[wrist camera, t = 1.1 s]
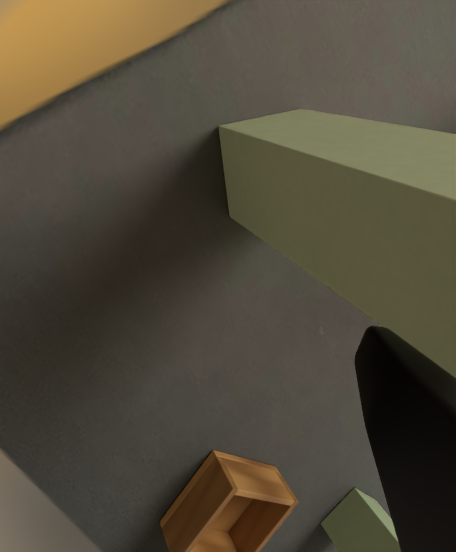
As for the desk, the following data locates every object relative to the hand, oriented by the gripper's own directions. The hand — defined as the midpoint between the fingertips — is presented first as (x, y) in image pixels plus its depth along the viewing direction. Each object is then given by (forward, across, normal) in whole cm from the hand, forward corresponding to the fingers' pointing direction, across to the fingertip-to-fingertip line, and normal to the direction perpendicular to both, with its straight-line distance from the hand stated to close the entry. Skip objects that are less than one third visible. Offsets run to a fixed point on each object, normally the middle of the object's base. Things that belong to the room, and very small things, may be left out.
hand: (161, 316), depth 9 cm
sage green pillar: (+16, -4, +1) cm, 17 cm away
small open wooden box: (+13, -6, +27) cm, 30 cm away
